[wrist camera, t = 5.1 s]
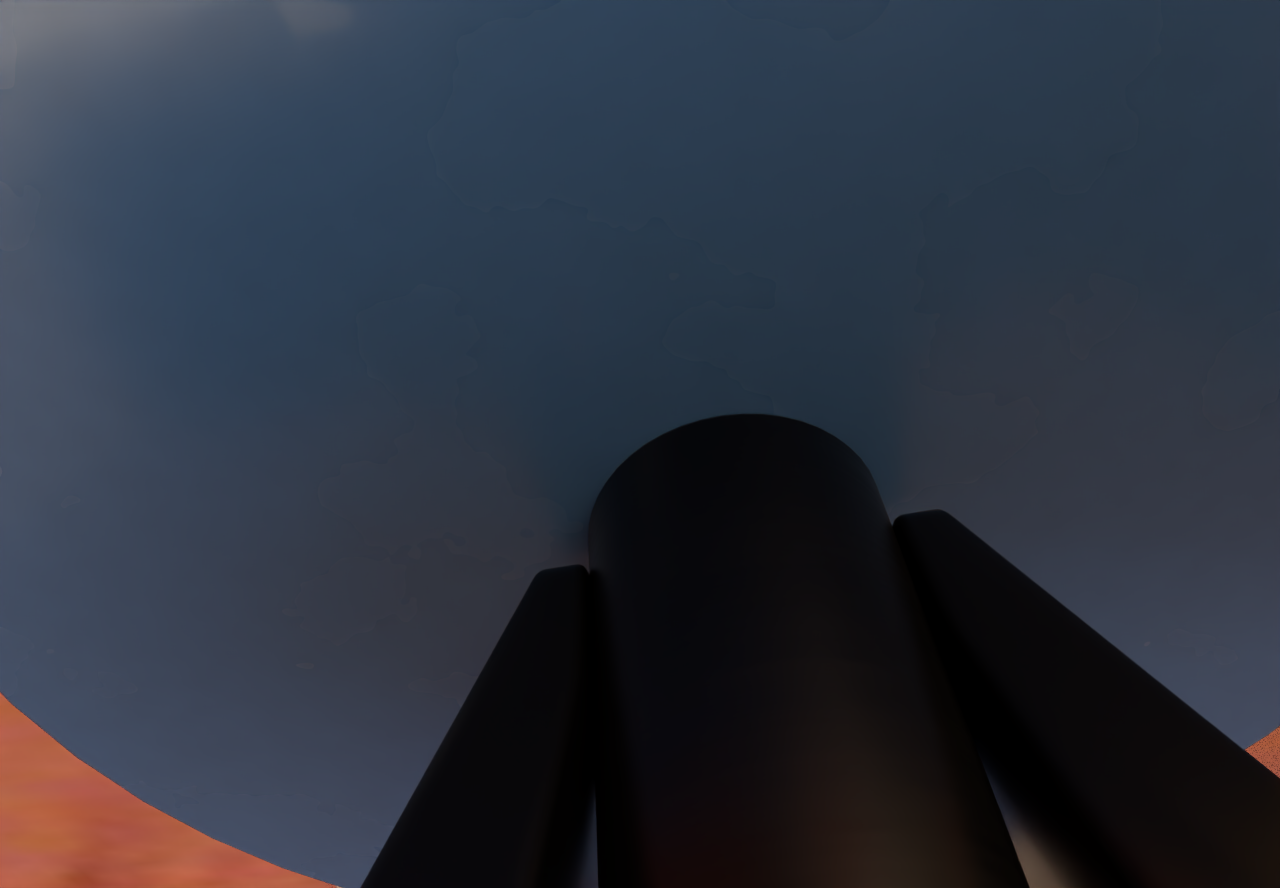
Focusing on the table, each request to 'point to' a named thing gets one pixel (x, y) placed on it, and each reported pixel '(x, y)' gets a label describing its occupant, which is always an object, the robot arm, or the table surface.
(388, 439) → the lid
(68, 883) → the table surface
